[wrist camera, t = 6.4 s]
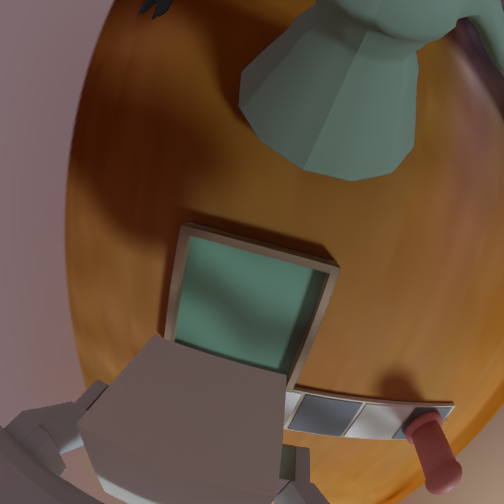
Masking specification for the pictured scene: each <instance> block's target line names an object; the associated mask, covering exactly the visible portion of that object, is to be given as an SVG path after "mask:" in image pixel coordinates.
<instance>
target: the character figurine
mask: <svg viewBox="0 0 504 504" xmlns="http://www.w3.org/2000/svg"><path fill="white" fill-rule="evenodd" d="M155 3H156V4H157V6H156V10H155V12H154V15H153V17H152V19H154V18H156V17H157V16H161V15H163V14H164V13H165V12H166V11H167V10H168V9H169V7H170V5H171V3H172V0H145V1H144V3H143V5H142V7H141V9H140V12H139V14H140V13H141V14H143V13H146V12H147V11H148V10H149V9H150V8H151V7H152V6H153V5H154V4H155ZM139 14H138V16H139ZM464 17H467V18H468V19H469V20H470V21H471V22H472V24H473V25H474V26H475V28H476V29H477V31H478V35H479V40H480V43H481V44H482V45H483V47H484V48H485V50H486V52H487V54H488V56H489V58H490V61H491V62H492V63H493V64H494V65H495V67H496V68H497V69H498V70H499V71H500V72H501V74H502V75H503V76H504V11H503V8H502V4H501V0H316V4H315V5H313V6H312V7H310V8H309V9H308V10H306V11H305V12H303V13H302V14H301V15H299V16H298V17H297V18H296V19H295V21H294V22H293V23H292V24H291V25H290V27H289V28H288V29H286V30H285V31H284V32H283V33H282V34H281V35H280V36H279V37H278V38H277V39H276V40H274V41H273V42H272V43H271V44H270V45H269V46H268V47H267V48H266V49H265V50H264V51H262V52H261V53H260V54H259V55H258V56H257V57H256V58H255V59H254V60H253V61H252V62H251V63H250V64H249V65H248V66H247V67H246V68H245V69H244V70H243V71H242V72H241V82H240V94H239V108H240V110H241V111H242V113H243V114H244V116H245V118H246V119H247V121H248V122H249V124H250V125H251V127H252V128H253V130H254V132H255V133H256V135H257V136H258V138H259V140H260V141H261V142H262V143H264V144H265V145H267V146H268V147H270V148H271V149H273V150H274V151H276V152H277V153H279V154H280V155H282V156H283V157H285V158H286V159H288V160H289V161H291V162H292V163H294V164H295V165H297V166H298V167H300V168H301V169H302V170H306V171H310V172H315V173H319V174H323V175H328V176H332V177H336V178H340V179H344V180H348V181H356V180H361V179H366V178H371V177H376V176H381V175H386V174H391V173H392V172H393V171H394V170H395V169H396V168H397V167H398V165H399V164H400V163H401V162H402V161H403V159H404V158H405V157H406V156H407V155H408V153H409V152H410V151H411V150H412V148H413V147H414V136H415V120H416V88H417V79H418V73H419V68H418V62H417V56H416V51H417V50H418V49H420V48H422V47H423V46H424V45H425V44H427V43H428V42H432V41H435V40H438V39H440V38H442V37H443V36H444V35H445V34H447V33H448V32H449V31H451V30H452V29H453V28H455V26H456V22H457V20H458V19H460V18H464Z"/></svg>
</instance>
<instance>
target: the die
mask: <svg viewBox="0 0 504 504" xmlns="http://www.w3.org/2000/svg"><path fill="white" fill-rule="evenodd" d="M286 380H287V375H284V374H280V373H276V372H272V371H268V370H264V369H260V368H256V367H252V366H248V365H245V364H241V363H238V362H234V361H231V360H227V359H224V358H221V357H217V356H214V355H211V354H208V353H205V352H202V351H199V350H196V349H193V348H190V347H187V346H184V345H181V344H178V343H176V342H173V341H170V340H167V339H165V338H162V337H159V336H157V335H154V336H153V337H152V338H151V340H150V341H149V342H148V343H147V344H146V345H145V346H144V347H143V348H142V350H141V351H140V352H139V353H138V354H137V355H136V356H135V357H134V358H133V360H132V361H131V362H130V363H129V364H128V365H127V366H126V367H125V369H124V370H123V371H122V372H121V373H120V374H119V375H118V376H117V378H116V379H115V380H114V381H113V382H112V383H111V384H110V386H109V387H108V388H107V389H106V390H105V391H104V392H103V394H102V395H101V396H100V397H99V398H98V399H97V400H96V402H95V403H94V404H93V405H92V406H91V407H90V408H89V410H88V411H87V412H86V413H85V414H84V415H83V416H82V418H81V419H80V420H79V421H78V422H77V426H78V429H79V432H80V435H81V438H82V440H83V443H84V446H85V448H86V451H87V453H88V456H89V458H90V461H91V463H92V465H93V468H94V470H95V472H96V474H97V476H98V479H99V481H100V483H101V485H102V487H103V489H104V491H105V492H107V493H108V494H110V495H112V496H114V497H116V498H118V499H120V500H122V501H124V502H127V503H129V504H270V503H271V502H272V501H273V500H274V499H275V498H276V497H277V493H278V484H279V474H280V463H281V452H282V440H283V427H284V413H285V397H286Z"/></svg>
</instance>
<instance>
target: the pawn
mask: <svg viewBox="0 0 504 504" xmlns="http://www.w3.org/2000/svg"><path fill="white" fill-rule="evenodd" d="M442 425H443V419H442V417H441V415H440V413H439V412H438V411H435V410H432V411H427V412H424V413H422V414H420V415H418V416H417V417H415V418H414V419H413V420H412V421H411V422H410V423H409V424H408V425H407V426H406V428H405V435H406V438H407V441H408V442H409V443H412V444H414V445H415V448H416V451H417V454H418V457H419V460H420V463H421V465H422V469H423V472H424V475H425V478H426V480H425V485H426V488H427V490H428V491H429V492H430V493H432V494H436V495H440V494H444V493H447V492H449V491H450V490H452V489H453V488H454V487H455V486H456V485H457V484H458V482H459V481H460V479H461V476H462V467H461V465H460V464H459V463H458V462H457V461H456V459H455V457H454V455H453V452H452V450H451V448H450V446H449V444H448V441H447V439H446V437H445V435H444V433H443V431H442V429H441V427H442Z"/></svg>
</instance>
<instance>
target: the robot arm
mask: <svg viewBox="0 0 504 504" xmlns="http://www.w3.org/2000/svg"><path fill="white" fill-rule="evenodd" d="M108 387H109V385H107V384H106V383H104V382H102V381H100V380H98V381H95V382H94V383H93V384H92V385H91V386H90V387H89V388H88V389H87V390H86V391H85V393H84V394H83V395H82V396H81V397H80V398H79V399H78V400H77V401H76V402H75V403H73V402H67V403H62V404H57V405H52V406H47V407H42V408H37V409H31V410H25V411H22V412H21V413H20V414H19V415H18V416H17V417H16V418H15V419H14V420H12V421H11V422H10V423H9V424H8V425H7V426H6V427H5V428H4V429H3V428H2V427H1V426H0V504H104V503H102V502H101V501H99V500H97V499H95V498H93V497H92V496H90V495H88V494H86V493H85V492H83V491H82V490H80V489H78V488H77V487H75V486H74V485H72V484H71V483H69V482H68V481H66V480H64V479H63V478H62V477H60V475H61V473H62V472H63V471H64V469H65V468H66V465H65V463H64V461H63V459H62V457H61V456H60V454H61V453H64V452H67V451H70V450H73V449H75V448H78V447H81V446H83V445H84V443H83V440H82V438H81V435H80V432H79V429H78V426H77V422H78V421H79V420H80V419H81V418H82V416H83V415H84V414H85V413H86V412H87V411H88V410H89V408H90V407H91V406H92V405H93V404H94V403H95V402H96V400H97V399H98V398H99V397H100V396H101V395H102V394H103V392H104V391H105V390H106V389H107V388H108ZM273 501H274V503H275V504H330V503H329V502H328V501H327V500H326V498H325V497H324V496H323V495H322V493H321V492H320V491H319V489H318V488H317V487H316V485H315V484H314V483H310V450H309V448H306V447H298V446H294V445H287V444H282V452H281V463H280V474H279V484H278V493H277V497H276V498H275V499H274V500H273Z"/></svg>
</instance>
